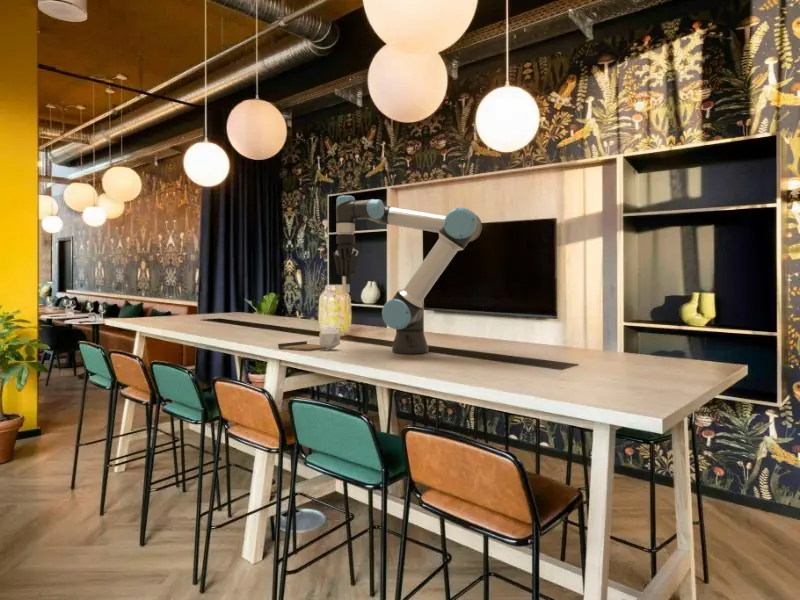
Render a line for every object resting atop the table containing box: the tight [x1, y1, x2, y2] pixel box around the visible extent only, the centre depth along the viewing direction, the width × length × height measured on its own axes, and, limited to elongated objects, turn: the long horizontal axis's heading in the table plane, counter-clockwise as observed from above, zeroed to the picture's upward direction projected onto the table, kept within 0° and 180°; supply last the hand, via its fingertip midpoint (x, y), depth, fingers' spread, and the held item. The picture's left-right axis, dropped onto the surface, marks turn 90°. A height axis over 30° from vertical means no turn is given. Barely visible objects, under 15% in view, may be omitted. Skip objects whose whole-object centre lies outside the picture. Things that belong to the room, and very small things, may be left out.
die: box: [318, 326, 341, 351], centre depth 226 cm, size 8×9×10 cm
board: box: [277, 340, 328, 352], centre depth 235 cm, size 18×16×2 cm
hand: (346, 292), depth 221 cm, fingers closed
